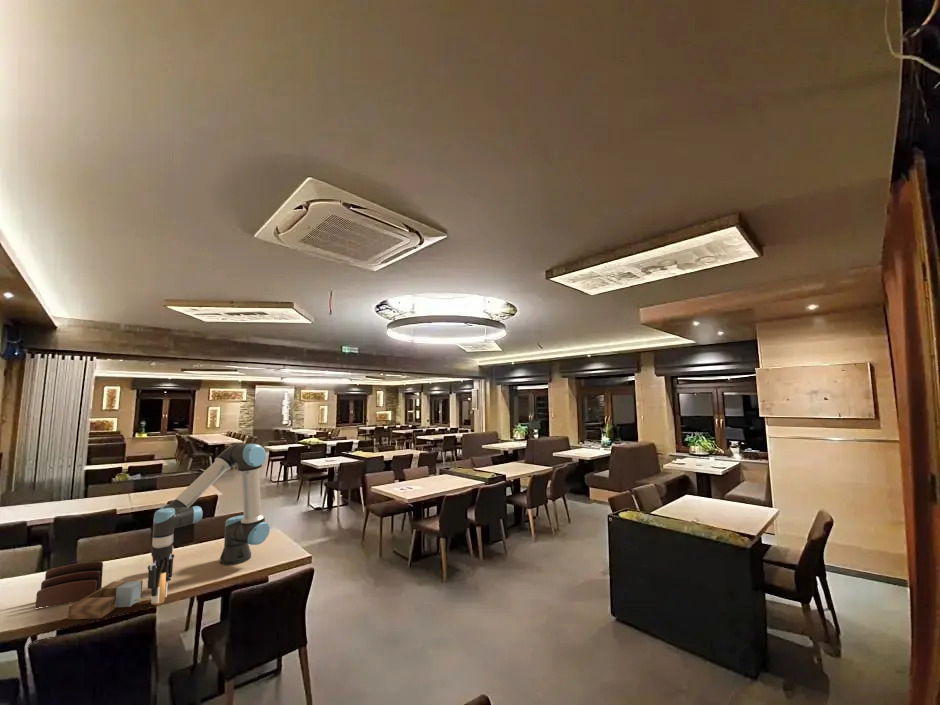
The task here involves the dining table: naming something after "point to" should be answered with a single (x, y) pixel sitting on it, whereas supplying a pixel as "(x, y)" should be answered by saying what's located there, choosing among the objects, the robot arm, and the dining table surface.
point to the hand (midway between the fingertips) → (159, 599)
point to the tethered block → (137, 592)
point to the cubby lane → (96, 602)
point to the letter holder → (69, 583)
